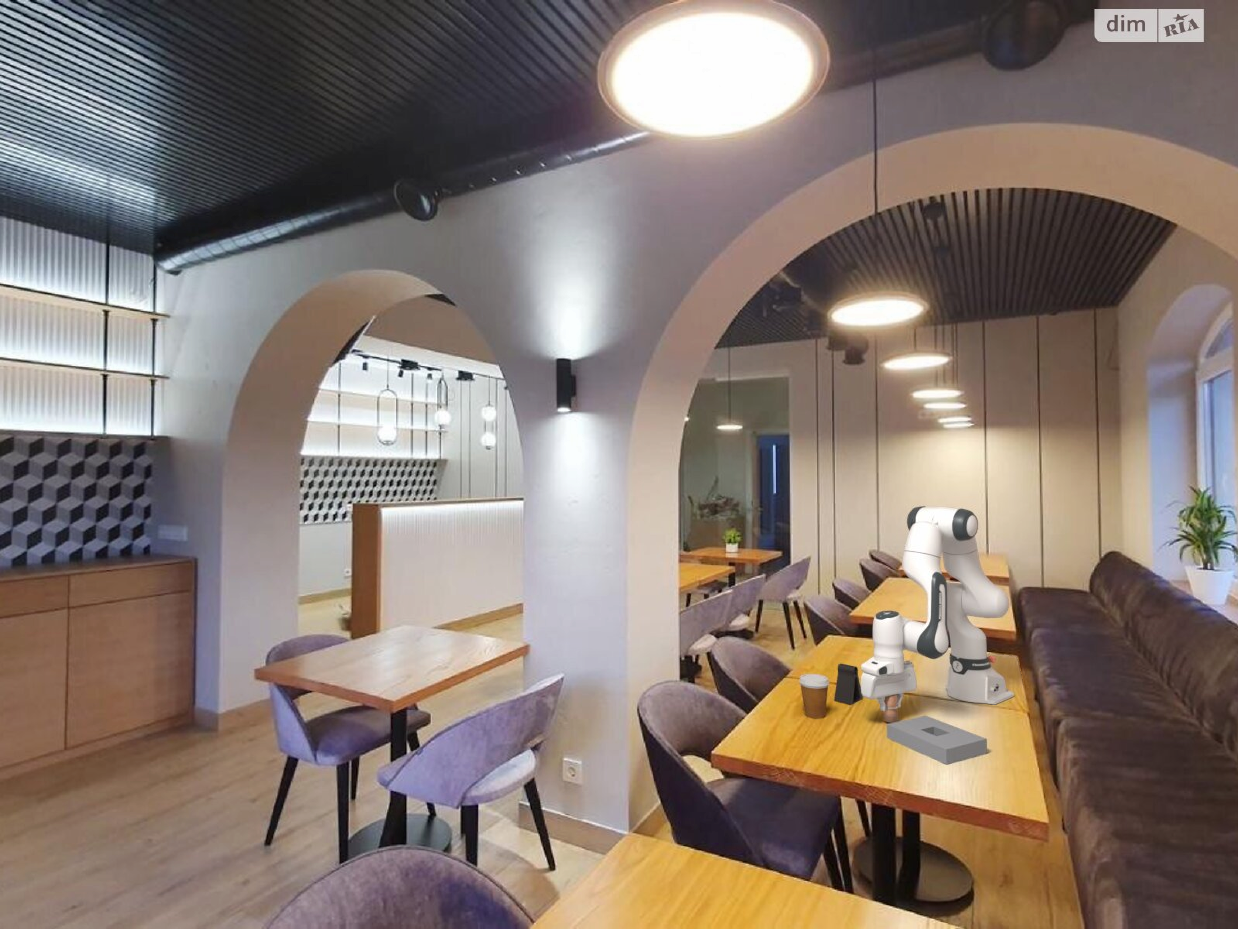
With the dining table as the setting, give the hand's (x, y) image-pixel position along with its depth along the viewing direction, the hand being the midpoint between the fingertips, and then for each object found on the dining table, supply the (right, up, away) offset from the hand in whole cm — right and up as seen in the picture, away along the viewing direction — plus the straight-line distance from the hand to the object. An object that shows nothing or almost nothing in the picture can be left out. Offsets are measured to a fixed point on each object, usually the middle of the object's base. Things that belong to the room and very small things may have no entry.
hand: (890, 708), depth 199 cm
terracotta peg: (0, -4, 0) cm, 4 cm away
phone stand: (-5, -6, +21) cm, 23 cm away
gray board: (+5, -4, -18) cm, 19 cm away
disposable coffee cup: (-21, -5, +8) cm, 23 cm away
